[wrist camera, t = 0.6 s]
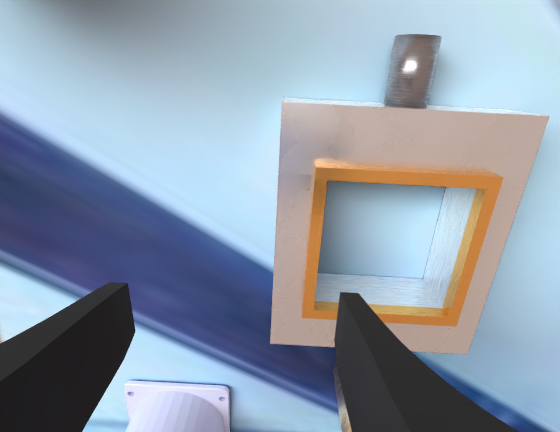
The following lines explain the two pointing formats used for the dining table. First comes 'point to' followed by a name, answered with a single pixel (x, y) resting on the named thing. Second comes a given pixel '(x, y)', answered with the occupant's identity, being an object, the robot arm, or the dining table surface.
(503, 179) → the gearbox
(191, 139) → the dining table surface
